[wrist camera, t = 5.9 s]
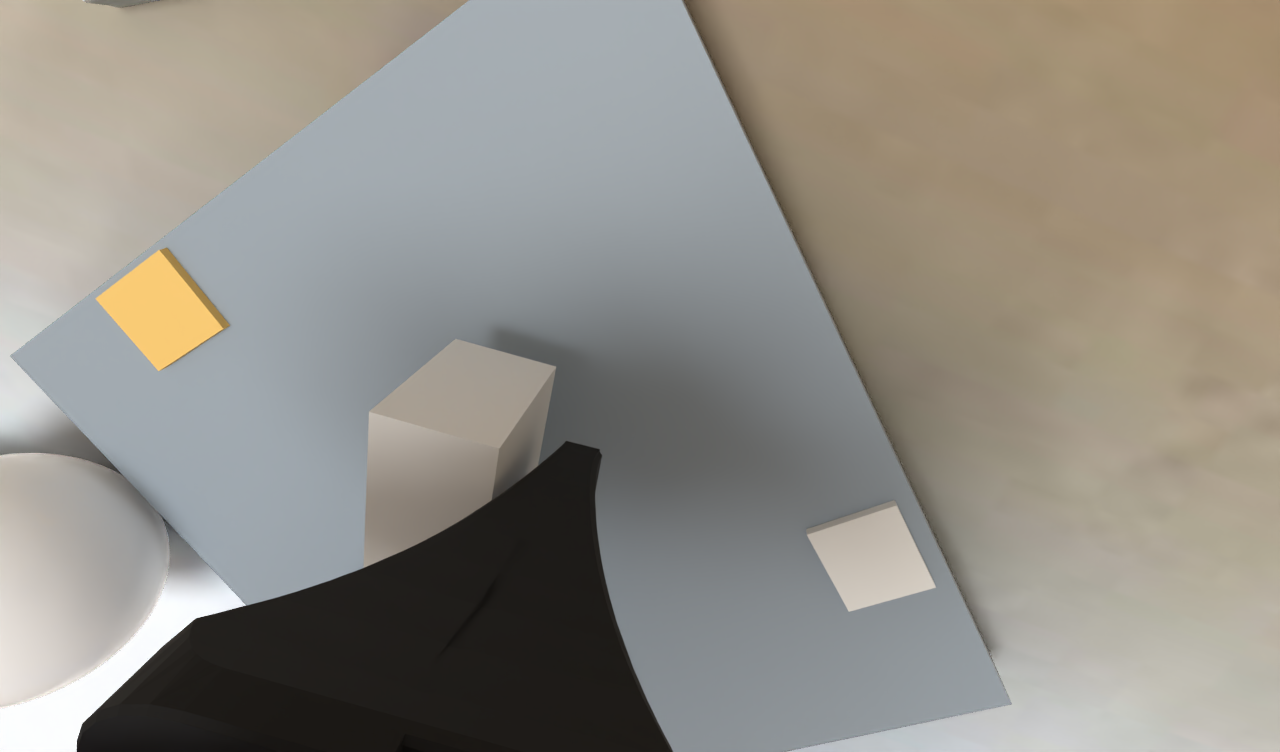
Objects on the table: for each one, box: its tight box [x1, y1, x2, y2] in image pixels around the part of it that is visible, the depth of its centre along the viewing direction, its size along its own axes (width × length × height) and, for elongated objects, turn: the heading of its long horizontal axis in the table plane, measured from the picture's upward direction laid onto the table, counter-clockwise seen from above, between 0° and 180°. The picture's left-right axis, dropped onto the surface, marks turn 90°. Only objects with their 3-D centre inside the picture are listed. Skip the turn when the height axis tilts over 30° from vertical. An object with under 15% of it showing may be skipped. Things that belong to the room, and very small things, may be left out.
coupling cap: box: [363, 339, 556, 568], centre depth 13 cm, size 14×7×3 cm, turn 167°
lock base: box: [10, 0, 1012, 752], centre depth 15 cm, size 19×18×2 cm
